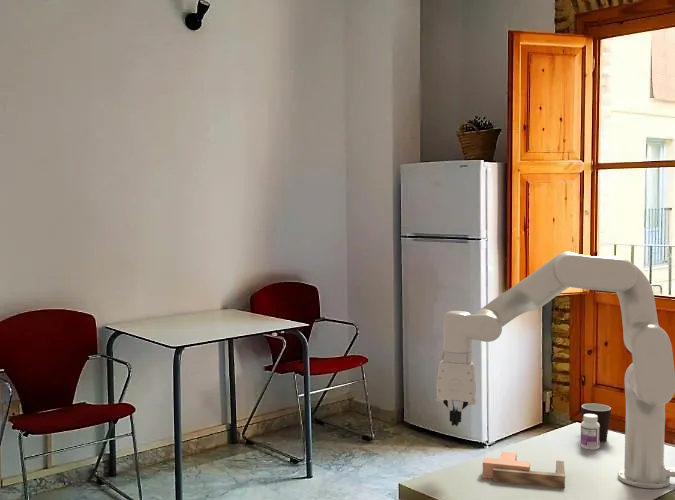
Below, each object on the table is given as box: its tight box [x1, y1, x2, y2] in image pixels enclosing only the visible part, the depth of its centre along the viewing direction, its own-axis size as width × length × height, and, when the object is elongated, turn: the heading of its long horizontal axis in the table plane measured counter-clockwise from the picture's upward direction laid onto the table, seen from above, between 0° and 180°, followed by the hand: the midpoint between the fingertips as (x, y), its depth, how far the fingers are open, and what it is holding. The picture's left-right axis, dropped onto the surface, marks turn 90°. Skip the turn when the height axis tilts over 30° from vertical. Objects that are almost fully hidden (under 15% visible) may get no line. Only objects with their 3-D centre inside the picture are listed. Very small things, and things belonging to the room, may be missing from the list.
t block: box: [482, 451, 531, 479], centre depth 206 cm, size 12×10×4 cm
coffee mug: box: [580, 403, 612, 443], centre depth 237 cm, size 12×9×10 cm
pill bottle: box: [580, 414, 601, 451], centre depth 228 cm, size 5×5×10 cm
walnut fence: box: [492, 460, 566, 489], centre depth 203 cm, size 18×12×3 cm, turn 75°
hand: (455, 424), depth 207 cm, fingers closed
